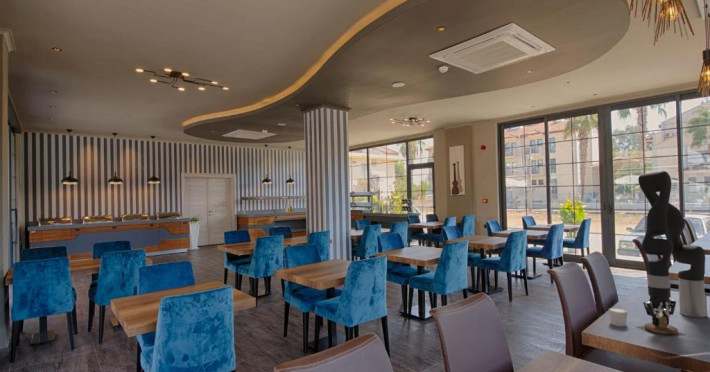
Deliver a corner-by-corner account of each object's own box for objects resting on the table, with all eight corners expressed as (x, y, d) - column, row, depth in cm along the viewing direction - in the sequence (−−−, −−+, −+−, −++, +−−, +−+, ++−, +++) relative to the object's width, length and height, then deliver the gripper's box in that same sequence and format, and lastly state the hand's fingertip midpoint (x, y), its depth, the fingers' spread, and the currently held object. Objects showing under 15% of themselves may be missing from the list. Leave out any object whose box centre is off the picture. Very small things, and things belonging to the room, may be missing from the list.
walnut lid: (660, 323, 168) (659, 311, 168) (685, 333, 157) (684, 320, 157) (638, 326, 167) (637, 313, 167) (661, 335, 156) (661, 322, 156)
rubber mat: (660, 326, 169) (659, 324, 169) (686, 336, 157) (686, 334, 157) (635, 328, 167) (635, 326, 167) (661, 339, 155) (661, 337, 155)
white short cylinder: (610, 321, 177) (609, 306, 177) (628, 324, 172) (627, 309, 172) (608, 326, 171) (607, 310, 171) (627, 329, 167) (626, 313, 167)
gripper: (665, 281, 167) (667, 320, 167) (636, 284, 165) (638, 323, 165) (682, 286, 159) (684, 326, 159) (652, 288, 158) (654, 330, 157)
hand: (660, 325), depth 162 cm, fingers closed on walnut lid, 4 cm apart
